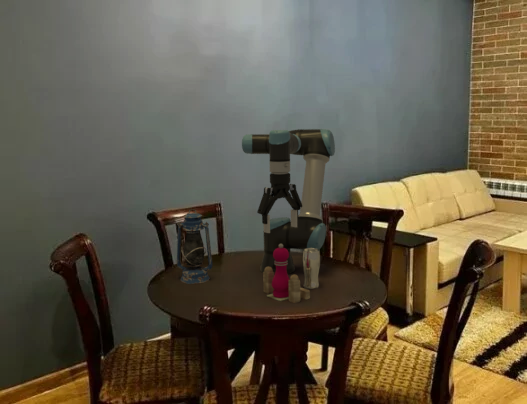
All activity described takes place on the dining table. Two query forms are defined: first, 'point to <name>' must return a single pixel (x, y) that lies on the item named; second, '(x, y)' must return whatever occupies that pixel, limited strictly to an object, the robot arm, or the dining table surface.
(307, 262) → the beer glass
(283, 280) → the pepper mill
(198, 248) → the lantern
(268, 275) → the wooden toy blocks
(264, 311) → the dining table surface
